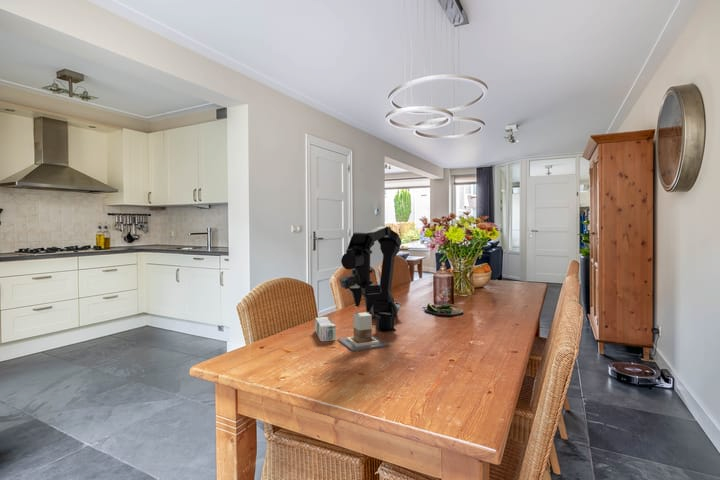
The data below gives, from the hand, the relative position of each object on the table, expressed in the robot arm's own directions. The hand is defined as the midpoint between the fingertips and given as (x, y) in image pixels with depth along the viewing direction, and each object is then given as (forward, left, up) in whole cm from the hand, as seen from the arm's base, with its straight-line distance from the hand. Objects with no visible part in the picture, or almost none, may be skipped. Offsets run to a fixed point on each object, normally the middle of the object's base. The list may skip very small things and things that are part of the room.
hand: (362, 309), depth 137 cm
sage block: (0, 0, -7) cm, 7 cm away
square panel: (0, 0, -12) cm, 12 cm away
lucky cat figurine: (-27, -32, -13) cm, 43 cm away
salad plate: (-56, -27, -13) cm, 64 cm away
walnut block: (0, 0, -12) cm, 12 cm away
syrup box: (+8, -22, -10) cm, 25 cm away
